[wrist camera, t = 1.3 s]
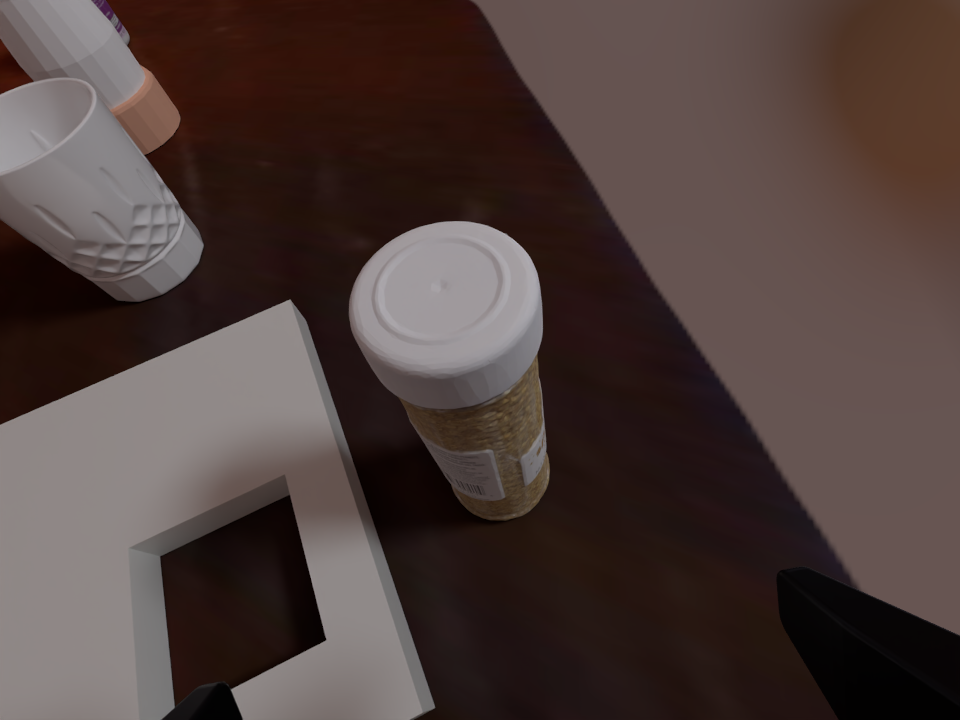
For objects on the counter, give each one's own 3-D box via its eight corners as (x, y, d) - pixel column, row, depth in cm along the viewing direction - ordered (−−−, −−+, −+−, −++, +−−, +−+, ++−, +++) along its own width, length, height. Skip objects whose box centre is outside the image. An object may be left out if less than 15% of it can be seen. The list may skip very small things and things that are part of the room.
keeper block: (435, 707, 19) (422, 712, 17) (-122, 1009, 17) (-200, 1049, 15) (306, 321, 29) (290, 299, 27) (-50, 476, 27) (-92, 464, 25)
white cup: (160, 324, 30) (4, 193, 22) (70, 294, 33) (-102, 166, 24) (236, 230, 34) (127, 85, 25) (150, 209, 36) (24, 70, 28)
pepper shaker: (76, 147, 42) (-236, -187, 25) (148, 96, 44) (-94, -236, 28) (125, 173, 39) (-192, -183, 22) (198, 118, 41) (-38, -238, 25)
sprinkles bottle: (571, 479, 22) (584, 290, 11) (488, 546, 21) (408, 414, 10) (507, 407, 25) (463, 186, 13) (430, 464, 24) (309, 279, 12)
